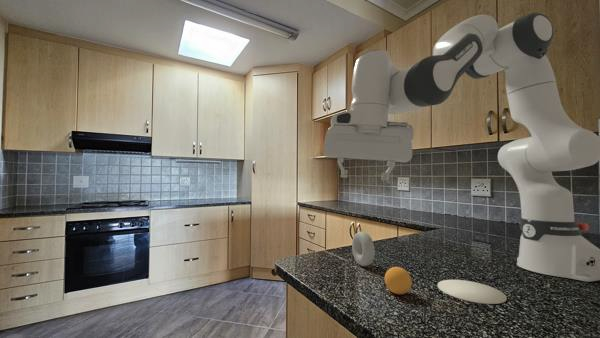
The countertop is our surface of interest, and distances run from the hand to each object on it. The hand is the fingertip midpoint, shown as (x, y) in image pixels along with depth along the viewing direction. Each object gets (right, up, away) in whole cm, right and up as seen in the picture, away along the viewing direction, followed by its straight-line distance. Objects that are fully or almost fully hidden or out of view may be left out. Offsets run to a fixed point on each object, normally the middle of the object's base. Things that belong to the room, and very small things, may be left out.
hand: (364, 178), depth 61 cm
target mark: (+23, -25, -2) cm, 35 cm away
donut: (+3, -27, +16) cm, 31 cm away
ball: (+6, -22, -4) cm, 23 cm away
